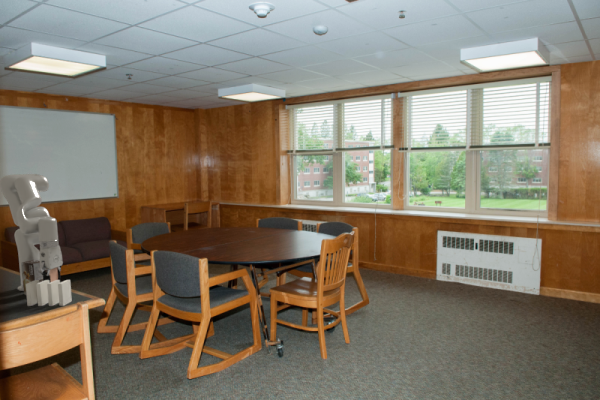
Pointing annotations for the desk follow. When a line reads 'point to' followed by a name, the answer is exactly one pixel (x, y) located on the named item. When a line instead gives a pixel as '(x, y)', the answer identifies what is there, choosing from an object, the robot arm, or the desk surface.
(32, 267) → the coffee box
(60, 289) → the domino
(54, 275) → the domino
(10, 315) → the desk surface
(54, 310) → the desk surface
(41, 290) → the domino
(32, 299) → the domino
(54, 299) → the domino
